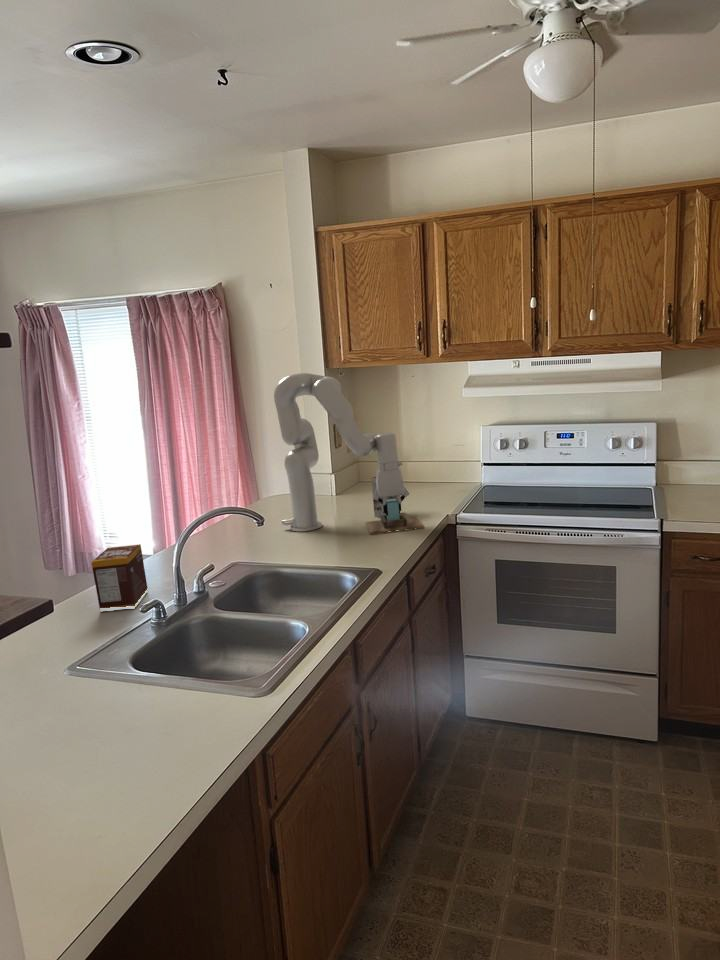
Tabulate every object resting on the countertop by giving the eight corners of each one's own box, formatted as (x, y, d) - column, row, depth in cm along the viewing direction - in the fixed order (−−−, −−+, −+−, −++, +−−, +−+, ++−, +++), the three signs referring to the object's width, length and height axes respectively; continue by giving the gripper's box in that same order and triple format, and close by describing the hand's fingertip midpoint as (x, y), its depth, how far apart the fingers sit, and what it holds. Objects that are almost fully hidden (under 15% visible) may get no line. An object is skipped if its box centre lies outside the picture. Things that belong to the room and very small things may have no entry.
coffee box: (387, 517, 287) (383, 478, 284) (374, 516, 291) (370, 477, 288) (399, 512, 294) (396, 473, 292) (387, 511, 298) (383, 473, 295)
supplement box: (148, 591, 224) (141, 543, 222) (135, 609, 209) (126, 558, 206) (115, 595, 224) (107, 547, 221) (99, 613, 209) (90, 561, 206)
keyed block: (387, 520, 276) (385, 499, 275) (397, 519, 276) (395, 498, 275) (389, 524, 269) (387, 503, 268) (400, 523, 270) (398, 502, 268)
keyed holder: (370, 534, 265) (369, 525, 264) (365, 524, 280) (364, 515, 280) (423, 528, 266) (422, 519, 266) (416, 518, 282) (415, 509, 281)
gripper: (408, 462, 273) (412, 509, 277) (365, 467, 272) (369, 514, 275) (412, 465, 266) (416, 513, 269) (367, 470, 265) (372, 518, 268)
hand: (392, 513), depth 272 cm, fingers closed on keyed block, 3 cm apart
